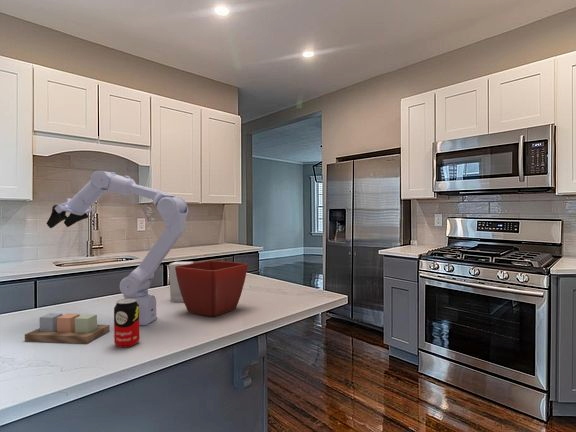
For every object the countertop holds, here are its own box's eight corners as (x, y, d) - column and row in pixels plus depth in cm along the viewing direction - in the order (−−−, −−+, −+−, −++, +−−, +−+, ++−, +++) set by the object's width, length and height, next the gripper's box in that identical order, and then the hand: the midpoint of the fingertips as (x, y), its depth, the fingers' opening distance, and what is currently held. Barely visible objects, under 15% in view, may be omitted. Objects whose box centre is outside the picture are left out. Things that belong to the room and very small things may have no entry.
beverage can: (111, 344, 98) (110, 300, 98) (134, 338, 102) (133, 296, 102) (119, 350, 94) (118, 305, 93) (143, 344, 98) (142, 300, 98)
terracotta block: (79, 328, 106) (79, 314, 106) (70, 333, 102) (69, 318, 102) (67, 328, 106) (67, 313, 106) (57, 332, 102) (57, 317, 102)
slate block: (62, 328, 107) (62, 313, 107) (52, 332, 103) (52, 317, 103) (50, 327, 107) (50, 313, 107) (39, 332, 103) (39, 317, 103)
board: (109, 331, 108) (109, 325, 108) (87, 343, 98) (87, 336, 98) (52, 329, 110) (52, 323, 110) (24, 341, 100) (24, 334, 100)
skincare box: (195, 298, 148) (194, 261, 148) (189, 302, 141) (188, 263, 141) (175, 298, 149) (175, 261, 149) (169, 302, 142) (168, 263, 142)
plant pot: (211, 301, 143) (210, 259, 143) (249, 308, 134) (249, 263, 133) (173, 313, 127) (173, 266, 127) (214, 321, 117) (213, 270, 117)
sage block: (97, 329, 105) (96, 314, 105) (87, 334, 101) (87, 318, 101) (84, 328, 106) (84, 314, 106) (75, 333, 102) (74, 318, 102)
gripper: (92, 190, 126) (66, 216, 128) (61, 188, 112) (32, 216, 113) (104, 205, 126) (78, 230, 127) (75, 204, 112) (46, 233, 113)
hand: (57, 225), depth 120 cm, fingers open, 7 cm apart
